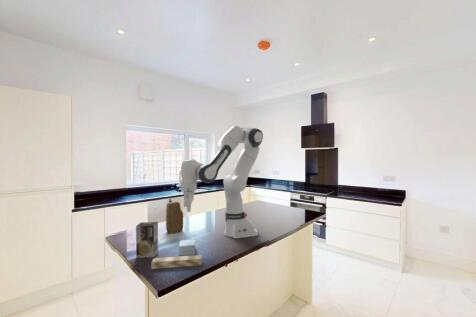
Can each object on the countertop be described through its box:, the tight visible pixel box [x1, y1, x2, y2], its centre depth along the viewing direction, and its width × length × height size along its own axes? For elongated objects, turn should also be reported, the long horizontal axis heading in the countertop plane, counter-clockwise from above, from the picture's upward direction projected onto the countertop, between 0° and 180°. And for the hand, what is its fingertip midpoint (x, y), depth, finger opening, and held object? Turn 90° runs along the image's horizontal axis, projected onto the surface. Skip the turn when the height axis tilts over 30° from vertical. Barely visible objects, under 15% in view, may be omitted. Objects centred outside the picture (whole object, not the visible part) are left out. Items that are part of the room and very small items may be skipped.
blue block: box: [178, 238, 196, 256], centre depth 111 cm, size 8×8×5 cm
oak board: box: [151, 254, 203, 270], centre depth 97 cm, size 22×4×3 cm, turn 98°
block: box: [165, 201, 184, 234], centre depth 143 cm, size 11×8×20 cm
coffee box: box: [135, 221, 159, 259], centre depth 108 cm, size 9×6×16 cm
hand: (189, 211), depth 121 cm, fingers closed
